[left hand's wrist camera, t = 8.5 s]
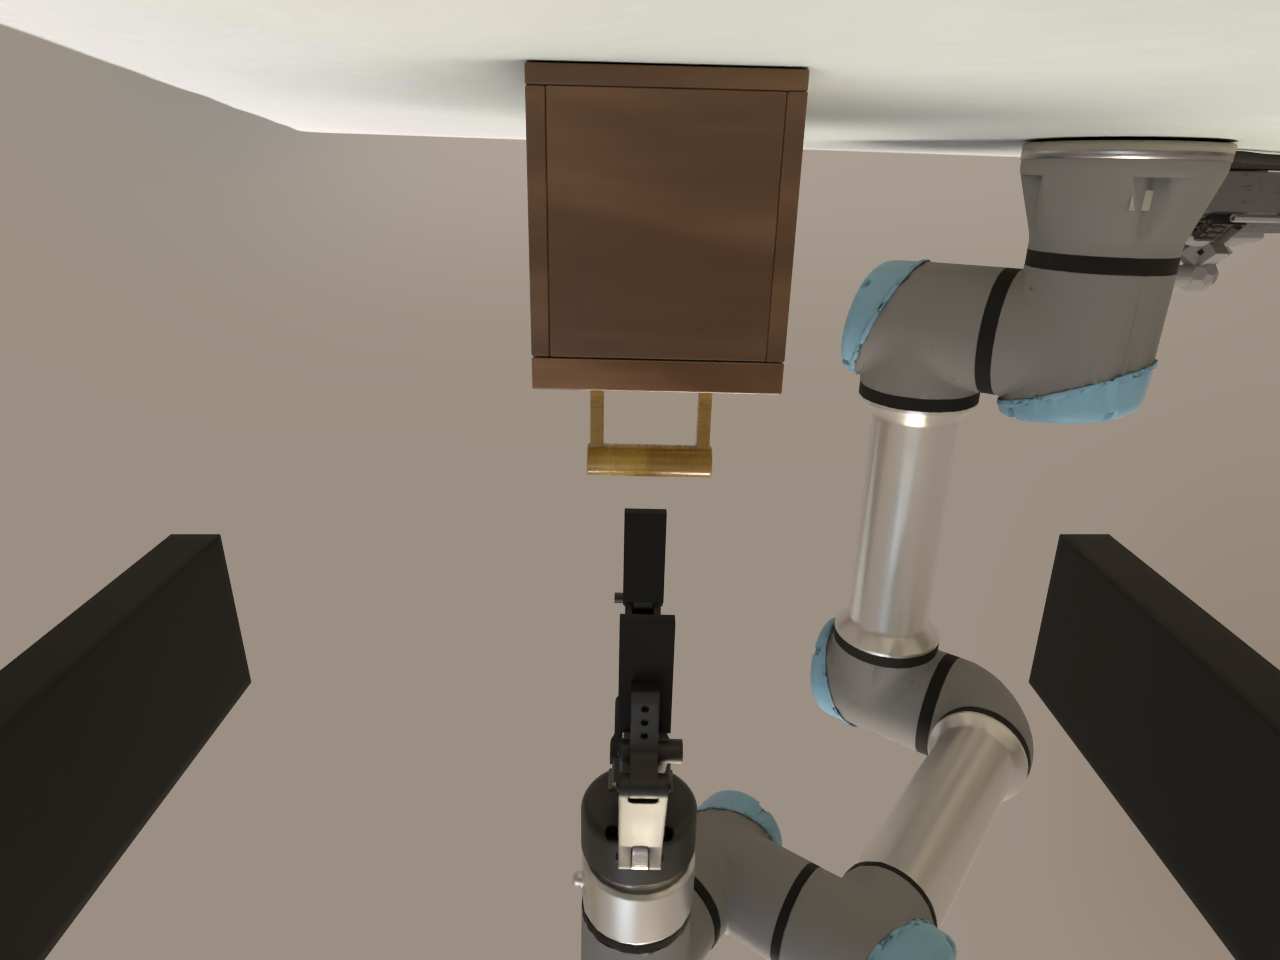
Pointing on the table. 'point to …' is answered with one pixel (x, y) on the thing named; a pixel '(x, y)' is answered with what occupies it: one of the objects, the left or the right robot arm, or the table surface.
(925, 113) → the table surface
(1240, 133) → the table surface
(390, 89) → the table surface
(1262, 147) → the table surface
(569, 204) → the chest
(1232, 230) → the toy
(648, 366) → the lid
